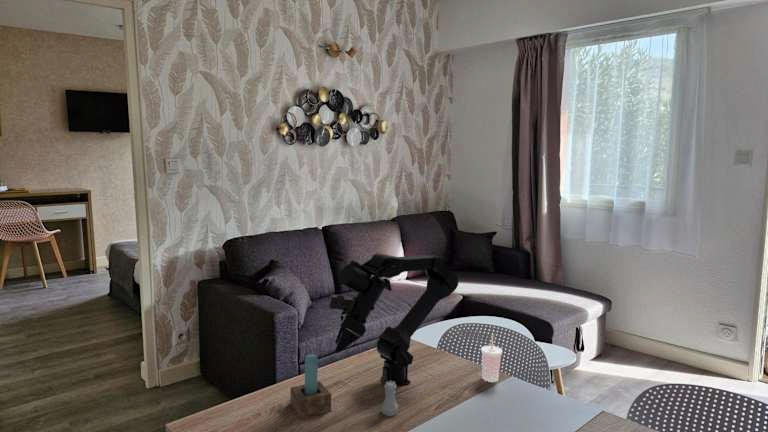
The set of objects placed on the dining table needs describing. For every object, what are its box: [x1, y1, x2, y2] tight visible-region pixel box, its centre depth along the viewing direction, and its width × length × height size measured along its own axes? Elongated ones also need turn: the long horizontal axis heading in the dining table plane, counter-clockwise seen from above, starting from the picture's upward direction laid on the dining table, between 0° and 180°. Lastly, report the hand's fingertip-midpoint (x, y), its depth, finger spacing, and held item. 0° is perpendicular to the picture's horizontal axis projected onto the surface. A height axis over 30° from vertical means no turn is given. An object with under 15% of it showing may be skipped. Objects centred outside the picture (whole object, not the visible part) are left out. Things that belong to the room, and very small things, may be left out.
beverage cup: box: [480, 332, 503, 383], centre depth 148 cm, size 6×6×14 cm
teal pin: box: [304, 353, 319, 396], centre depth 130 cm, size 3×3×13 cm
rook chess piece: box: [380, 381, 399, 417], centre depth 129 cm, size 4×4×8 cm
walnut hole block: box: [290, 380, 332, 419], centre depth 130 cm, size 8×8×4 cm
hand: (336, 347), depth 135 cm, fingers open, 9 cm apart
